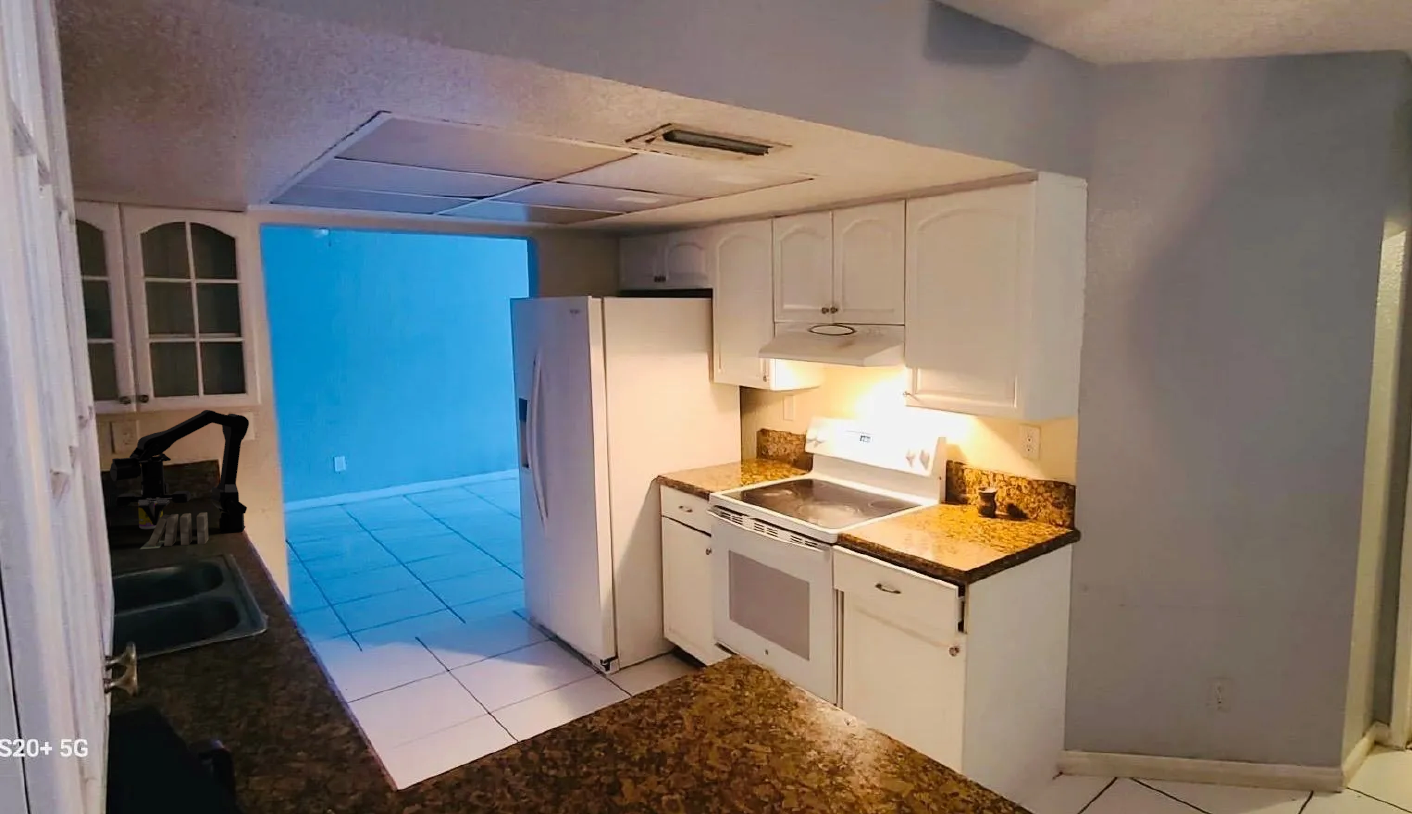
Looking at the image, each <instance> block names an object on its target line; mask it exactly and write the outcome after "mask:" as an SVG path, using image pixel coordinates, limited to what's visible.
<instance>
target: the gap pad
mask: <svg viewBox="0 0 1412 814" xmlns="http://www.w3.org/2000/svg"><path fill="white" fill-rule="evenodd" d="M148 543H149V541H146V542H145V543H144V544H143V545H142V546H141V547H140V548H139V550H149V549H151V550H152V549H160V548H161V547H162V546H163V545H164V543H165V540H160V541H159V543H158V544H157V545H156V546H155V547H154V546H151V545H148Z"/></svg>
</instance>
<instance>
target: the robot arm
mask: <svg viewBox="0 0 1412 814" xmlns="http://www.w3.org/2000/svg"><path fill="white" fill-rule="evenodd" d="M210 424H216V425H220V426H221V427H222V434H223V437H224V449H223V455H222V464H221V471H220V477H219V478H220V479H219V482H218V485H217V486H216V487H214V486H212V487H211V496H210V498H209V499H210V500H211V503H212V505H213V506H214V507H216V508H217V509H218V512H220V517H219V518H218V521H219V523H218V524H219V531H220V532H219V533H221V534H226V533H227V534H228V533H241V532H244V530H245V528H246V525H245V514H246V512H247V510H248V507H247V506H246V505H244V503H242V502H240V494H239V490H238V486H237V476H238V469H239V462H240V452H241V448H242V447H241V446H242V445H241V444H242V441H243V439H244V438H245V436H246V435H247V432H248V429H249V426H250V421H249V419H248V418H247V417H246V416H245V415H240V414H236V413H228V414H224V413H221V412H220V413H219V412H216V411H215V410H210V409H205V410H202V411H201V412H200V413H197V414H196V415H194V416H192V417H190V418H187V419H186V420H184V421H181V422H180V423H178V424H176V425H174V426H172V427H170V428H168V429H166V430H162V431H158V432H154V433H150V434H147V435H145V436H142V437H140V438H139V439H138V440H137V441H138V442H137V444H136V447H135V449H134V450H133V451H132V452H131V454H130V455H129V457H124V458H123V457H122V458H118V457H117V458H112V461H111V462H112V463H111V464H110V468H109V475H110V478H111V480H112V481H113V482H119V481H126V480H134V479H137V478H138V477H141V481H140V484H141V488H140V489H141V491H142V494H141V495H136V493H133V492H130V493H121V494H119V496H117V497H116V498H115V501H114V503H115V506H116V507H125V506H126V507H128V506H129V505H130V504H131V503H138V502H139V506H138V505H137V507H138V508H142V509H143V510H144V511H145V513H146V514H147V515H148V517H149V519H150V520H151V522H152V524H153V525H157V523H158V521H159V518H160V515H161V512H163V509H164V508H165V507H167V506H168V505H169V504H170V502H171V501H172V502H173V503H174V504H183V503H184V504H186V503H188V502H189V501H190V500H191V499H192V495H191V494H192V493H191V491H190V490H175V491H174V492H173V493H172V494H171V493H170V494H169V490H170V489H169V488H170V484H169V483H168V482H166V479H165V473H164V472H165V470H164V462H169V461H172V459H171V458H170V457H169V456H167V455H166V454H165V453H164V452H166V451H167V450H169V449H170V447H172V446H173V445H174V443H176V442H177V441H179V440H181V439H183V438H185V437H187V436H189V435H190V434H193V433H194V432H196V431H198V430H200V429H203V428H204V427H206V426H208V425H210ZM147 498H149V499H147ZM151 498H152V499H151ZM151 501H153V502H151ZM154 501H157V504H156V505H155V506H154Z"/></svg>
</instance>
